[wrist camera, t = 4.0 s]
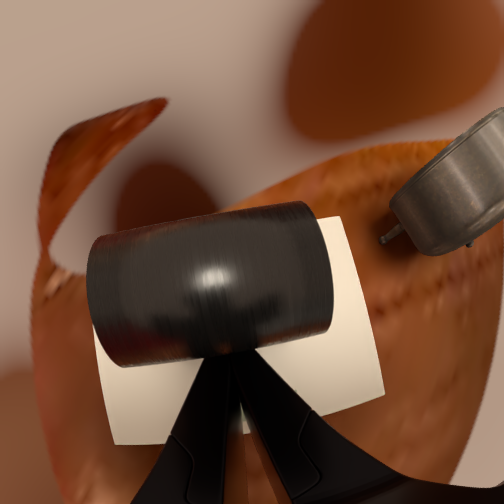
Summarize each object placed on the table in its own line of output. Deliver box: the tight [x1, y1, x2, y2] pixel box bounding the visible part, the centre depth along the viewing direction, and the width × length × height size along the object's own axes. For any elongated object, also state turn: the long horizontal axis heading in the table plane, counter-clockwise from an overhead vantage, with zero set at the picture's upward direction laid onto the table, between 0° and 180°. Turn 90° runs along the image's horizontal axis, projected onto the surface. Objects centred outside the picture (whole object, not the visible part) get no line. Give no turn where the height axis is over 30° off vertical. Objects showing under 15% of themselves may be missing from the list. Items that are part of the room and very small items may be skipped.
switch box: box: [93, 216, 385, 445], centre depth 15 cm, size 10×14×6 cm
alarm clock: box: [379, 107, 504, 256], centre depth 13 cm, size 11×5×16 cm, turn 121°
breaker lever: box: [86, 201, 334, 368], centre depth 9 cm, size 2×3×10 cm
